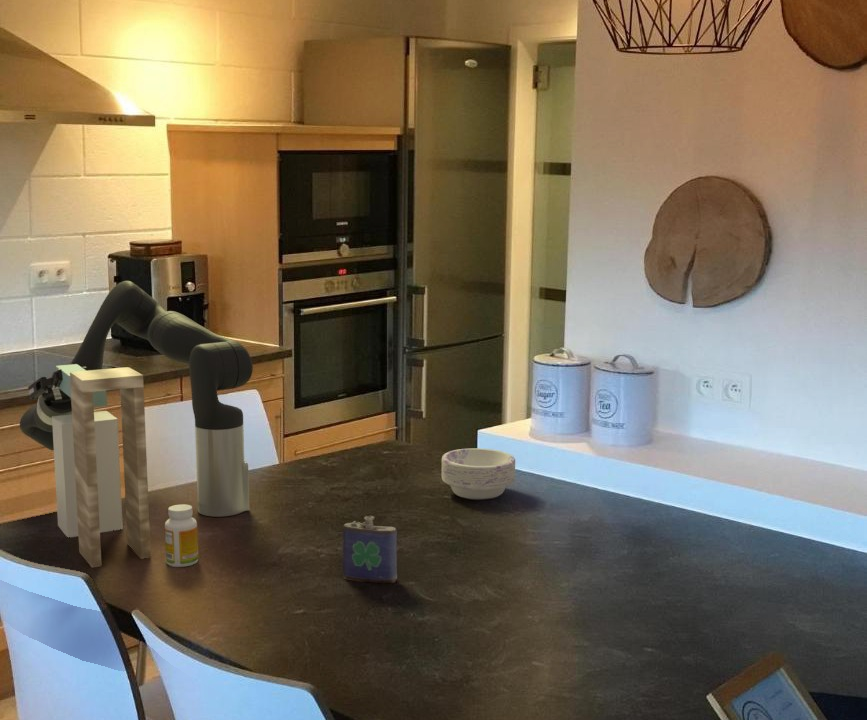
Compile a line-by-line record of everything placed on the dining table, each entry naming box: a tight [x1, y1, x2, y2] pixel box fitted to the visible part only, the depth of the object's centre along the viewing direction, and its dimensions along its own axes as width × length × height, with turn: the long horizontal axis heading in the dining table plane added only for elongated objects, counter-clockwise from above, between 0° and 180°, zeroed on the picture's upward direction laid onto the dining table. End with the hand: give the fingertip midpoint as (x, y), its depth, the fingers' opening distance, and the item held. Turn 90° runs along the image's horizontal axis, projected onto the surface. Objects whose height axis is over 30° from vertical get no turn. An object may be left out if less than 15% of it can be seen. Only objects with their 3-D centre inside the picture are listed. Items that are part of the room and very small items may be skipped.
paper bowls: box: [441, 447, 516, 500], centre depth 233 cm, size 15×15×8 cm
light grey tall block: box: [52, 410, 124, 539], centre depth 210 cm, size 10×8×21 cm
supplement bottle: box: [164, 503, 199, 568], centre depth 192 cm, size 5×5×10 cm
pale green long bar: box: [55, 364, 108, 408], centre depth 209 cm, size 4×22×4 cm, turn 30°
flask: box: [342, 515, 398, 584], centre depth 184 cm, size 9×3×11 cm, turn 74°
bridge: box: [70, 366, 152, 569], centre depth 194 cm, size 10×9×32 cm
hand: (73, 372), depth 213 cm, fingers closed on pale green long bar, 4 cm apart
